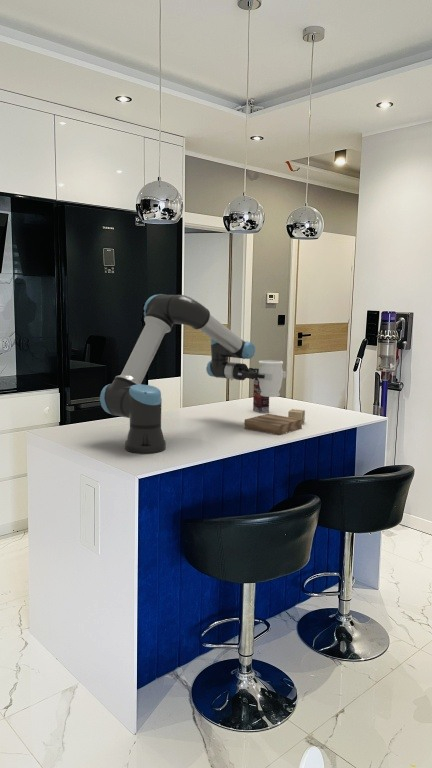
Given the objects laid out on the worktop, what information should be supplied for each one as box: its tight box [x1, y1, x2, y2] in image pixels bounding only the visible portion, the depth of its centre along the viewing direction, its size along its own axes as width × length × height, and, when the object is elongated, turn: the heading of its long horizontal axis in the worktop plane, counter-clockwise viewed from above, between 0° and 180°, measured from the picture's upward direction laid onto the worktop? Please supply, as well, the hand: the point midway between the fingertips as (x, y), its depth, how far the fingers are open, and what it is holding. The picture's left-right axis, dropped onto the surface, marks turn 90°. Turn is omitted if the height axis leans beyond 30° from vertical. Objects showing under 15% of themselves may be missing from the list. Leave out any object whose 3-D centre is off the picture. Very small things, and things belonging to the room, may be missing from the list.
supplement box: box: [252, 379, 270, 414], centre depth 300 cm, size 9×5×16 cm, turn 25°
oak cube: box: [287, 408, 306, 425], centre depth 274 cm, size 6×6×6 cm
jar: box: [258, 359, 284, 398], centre depth 260 cm, size 11×10×15 cm
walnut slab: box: [243, 413, 303, 436], centre depth 263 cm, size 18×18×4 cm
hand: (278, 376), depth 257 cm, fingers closed on jar, 10 cm apart
